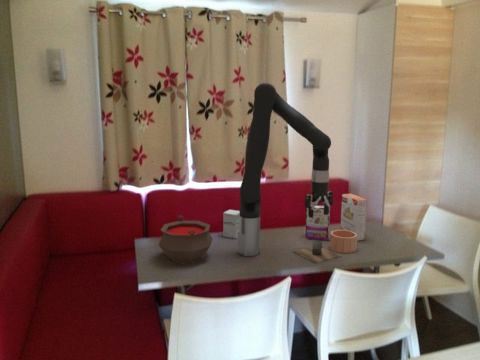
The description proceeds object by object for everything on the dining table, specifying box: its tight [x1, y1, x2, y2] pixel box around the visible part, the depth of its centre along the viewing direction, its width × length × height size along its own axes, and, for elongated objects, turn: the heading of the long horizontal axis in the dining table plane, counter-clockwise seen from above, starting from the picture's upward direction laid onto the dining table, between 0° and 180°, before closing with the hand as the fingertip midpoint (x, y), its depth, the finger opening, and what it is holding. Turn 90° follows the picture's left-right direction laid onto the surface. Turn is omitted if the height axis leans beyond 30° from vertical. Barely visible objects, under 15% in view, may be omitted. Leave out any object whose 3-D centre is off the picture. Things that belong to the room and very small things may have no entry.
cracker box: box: [339, 193, 368, 242], centre depth 210 cm, size 14×6×21 cm, turn 17°
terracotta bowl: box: [329, 229, 358, 254], centre depth 195 cm, size 12×12×7 cm
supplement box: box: [222, 209, 240, 239], centre depth 210 cm, size 7×7×13 cm
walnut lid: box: [292, 240, 342, 264], centre depth 187 cm, size 15×15×6 cm
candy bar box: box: [305, 204, 331, 241], centre depth 207 cm, size 11×5×16 cm, turn 73°
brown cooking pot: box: [158, 215, 213, 264], centre depth 181 cm, size 24×24×16 cm
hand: (318, 216), depth 184 cm, fingers open, 8 cm apart
